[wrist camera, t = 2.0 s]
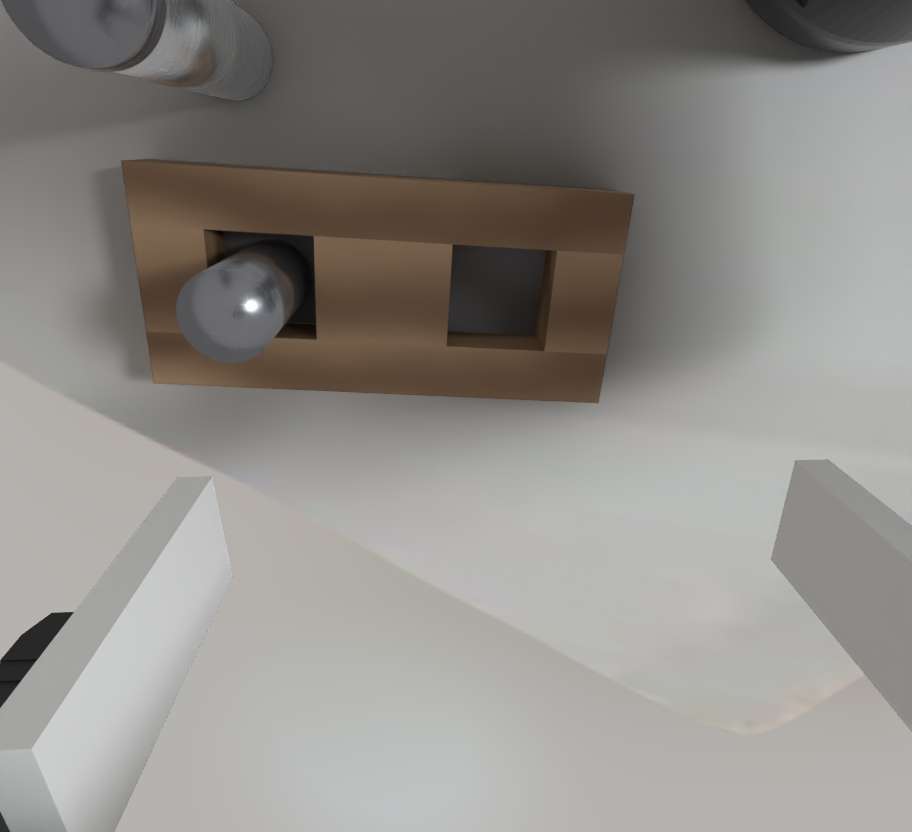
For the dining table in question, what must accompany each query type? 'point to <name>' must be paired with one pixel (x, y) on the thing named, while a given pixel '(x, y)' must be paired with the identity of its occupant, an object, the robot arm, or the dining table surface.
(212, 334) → the seated stud
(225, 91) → the stud
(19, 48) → the dining table surface
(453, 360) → the socket board
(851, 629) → the robot arm
